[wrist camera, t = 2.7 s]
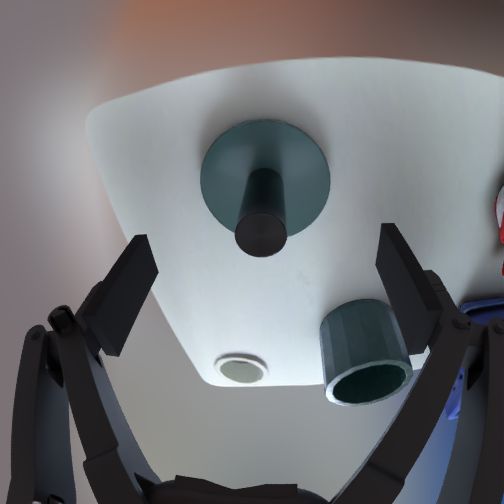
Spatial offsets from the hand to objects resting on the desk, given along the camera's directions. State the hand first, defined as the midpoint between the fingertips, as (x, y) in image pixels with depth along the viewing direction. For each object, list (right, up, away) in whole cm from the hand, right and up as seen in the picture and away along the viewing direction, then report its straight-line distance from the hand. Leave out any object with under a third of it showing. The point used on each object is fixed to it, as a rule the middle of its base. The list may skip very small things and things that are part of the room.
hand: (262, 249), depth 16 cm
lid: (+1, +6, +8) cm, 10 cm away
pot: (+12, -9, +18) cm, 24 cm away
